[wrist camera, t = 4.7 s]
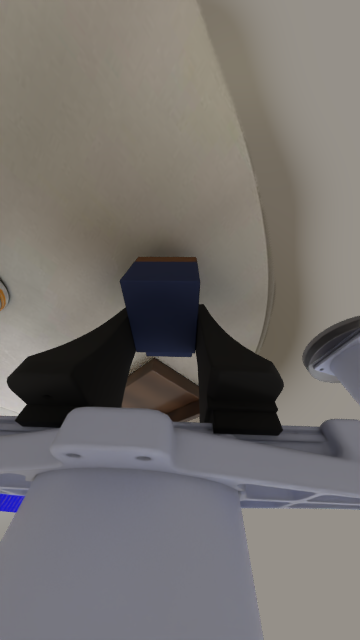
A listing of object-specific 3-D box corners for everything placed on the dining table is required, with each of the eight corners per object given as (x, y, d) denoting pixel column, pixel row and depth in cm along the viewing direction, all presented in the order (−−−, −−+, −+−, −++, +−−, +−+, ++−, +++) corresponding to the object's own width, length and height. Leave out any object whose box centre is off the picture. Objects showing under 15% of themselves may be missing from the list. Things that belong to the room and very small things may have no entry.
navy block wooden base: (138, 256, 11) (119, 280, 8) (196, 256, 11) (200, 281, 8) (150, 337, 16) (141, 373, 13) (192, 338, 16) (193, 374, 13)
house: (58, 460, 55) (32, 515, 46) (-15, 445, 48) (-63, 506, 38) (70, 453, 49) (43, 513, 40) (-10, 434, 42) (-66, 502, 33)
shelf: (154, 357, 22) (149, 384, 19) (202, 388, 27) (204, 415, 23) (52, 427, 38) (40, 449, 35) (92, 440, 42) (84, 460, 39)
